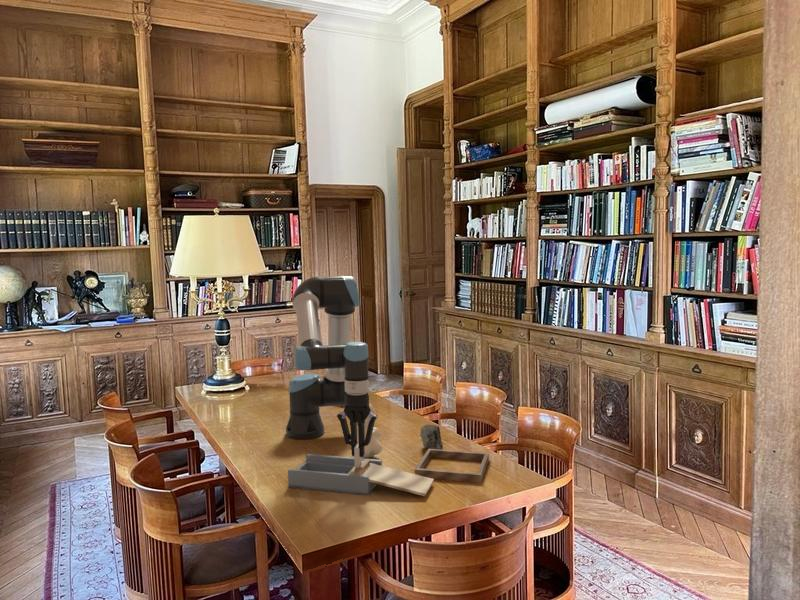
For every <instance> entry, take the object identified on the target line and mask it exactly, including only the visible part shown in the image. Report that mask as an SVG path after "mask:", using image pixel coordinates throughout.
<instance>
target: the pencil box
mask: <svg viewBox="0 0 800 600" xmlns="http://www.w3.org/2000/svg"><path fill="white" fill-rule="evenodd" d="M365 459H366V458H362V461H364V460H365ZM368 459H369V460H370V463H373V464H377V465H381V466H383V460H382V459H376V458H375V459H374V458H368ZM354 466H355V461H354V457H353V456H351V457H350V456H349V457H348V456H337V455H325V454H315V453H313V454H312V453H307V454H306V455H305V460H304V462H302V463H301V464H299V466H298V467H296V468H289V469H287V482H288V483H287V484H288V488H291V489H301V490H310V491H311V490H312V491H319V492H320V491H321V492H330V493H341V494H349V495H350V494H352V495H353V494H354V495H362V496H369V495H370V493H371V492H372V491H373V489H374V488H375V487H376V486H377V484H376V483H372V482H369V476H365V475H354V474H348V473H349V472H350V471H351V470H352V468H353V467H354Z"/></svg>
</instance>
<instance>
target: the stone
mask: <svg viewBox="0 0 800 600" xmlns="http://www.w3.org/2000/svg"><path fill="white" fill-rule="evenodd" d="M420 438H421V441H422V445H423V447H424V448H426V449H427V450H428V449H439V450H444V447H443V446H444V445H443V442H442V437H441V429H440V427H439V425H434V424H425V425H423V426H421V427H420Z"/></svg>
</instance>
